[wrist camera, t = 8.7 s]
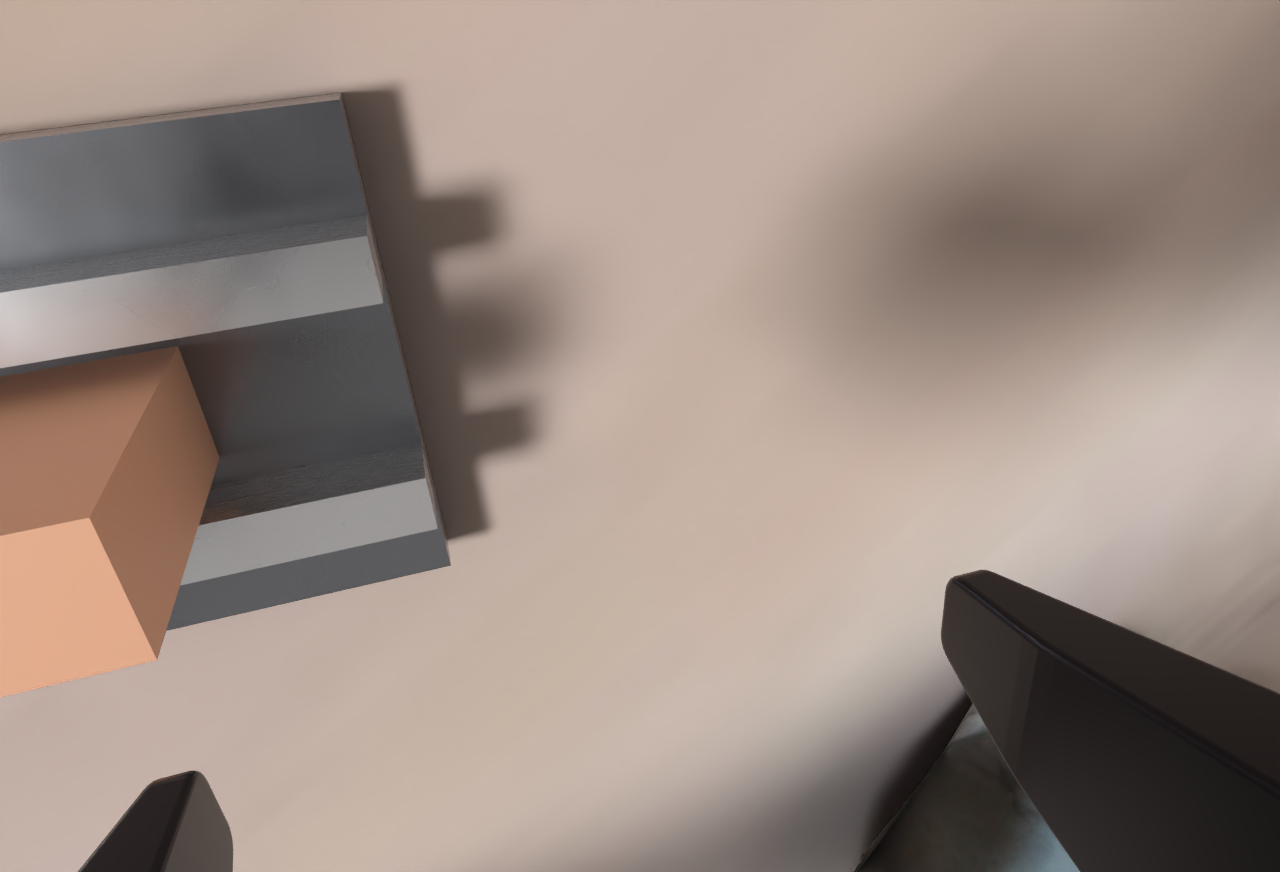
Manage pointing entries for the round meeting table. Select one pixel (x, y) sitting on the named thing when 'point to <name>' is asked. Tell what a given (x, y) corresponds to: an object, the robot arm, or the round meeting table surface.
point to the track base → (234, 331)
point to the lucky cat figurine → (967, 817)
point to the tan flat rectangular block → (96, 513)
